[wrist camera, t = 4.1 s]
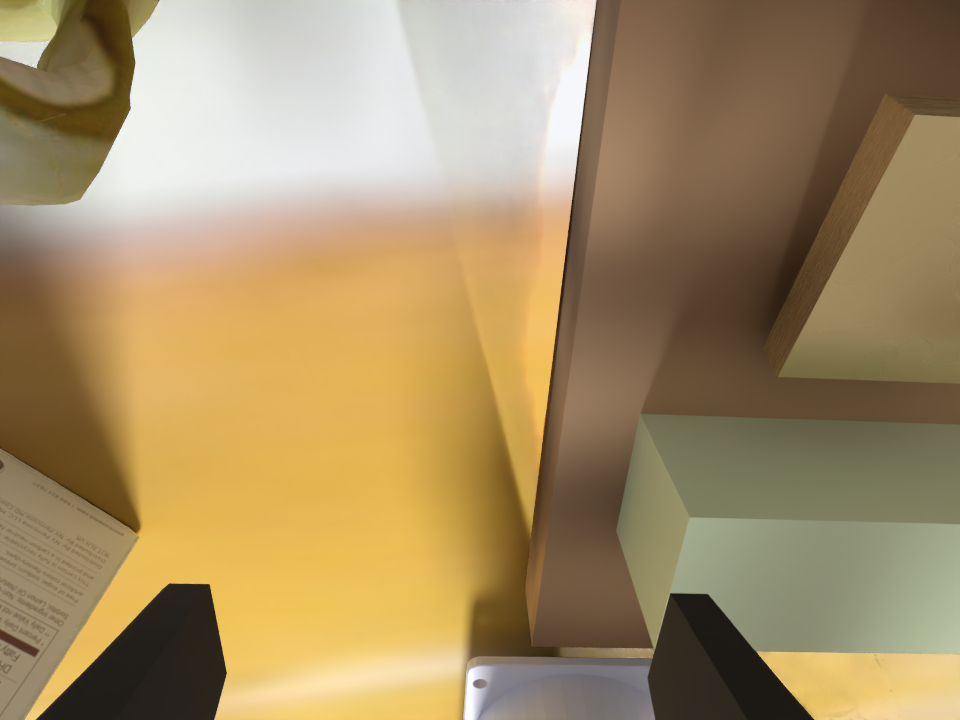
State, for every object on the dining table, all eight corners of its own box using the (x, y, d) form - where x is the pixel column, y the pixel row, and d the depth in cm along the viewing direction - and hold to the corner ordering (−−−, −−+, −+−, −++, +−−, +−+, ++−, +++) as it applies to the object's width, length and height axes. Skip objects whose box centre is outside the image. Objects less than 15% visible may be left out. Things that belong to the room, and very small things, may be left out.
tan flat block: (960, 355, 15) (985, 384, 15) (762, 348, 15) (777, 376, 14) (1151, 109, 11) (1200, 131, 11) (885, 93, 11) (915, 114, 10)
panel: (898, 594, 23) (979, 696, 20) (524, 586, 23) (537, 692, 19) (1333, -276, 12) (1699, -409, 9) (638, -343, 12) (719, -517, 8)
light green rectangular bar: (1010, 540, 19) (1138, 656, 15) (615, 530, 18) (654, 649, 15) (1075, 428, 17) (1237, 530, 13) (639, 413, 16) (689, 517, 13)
